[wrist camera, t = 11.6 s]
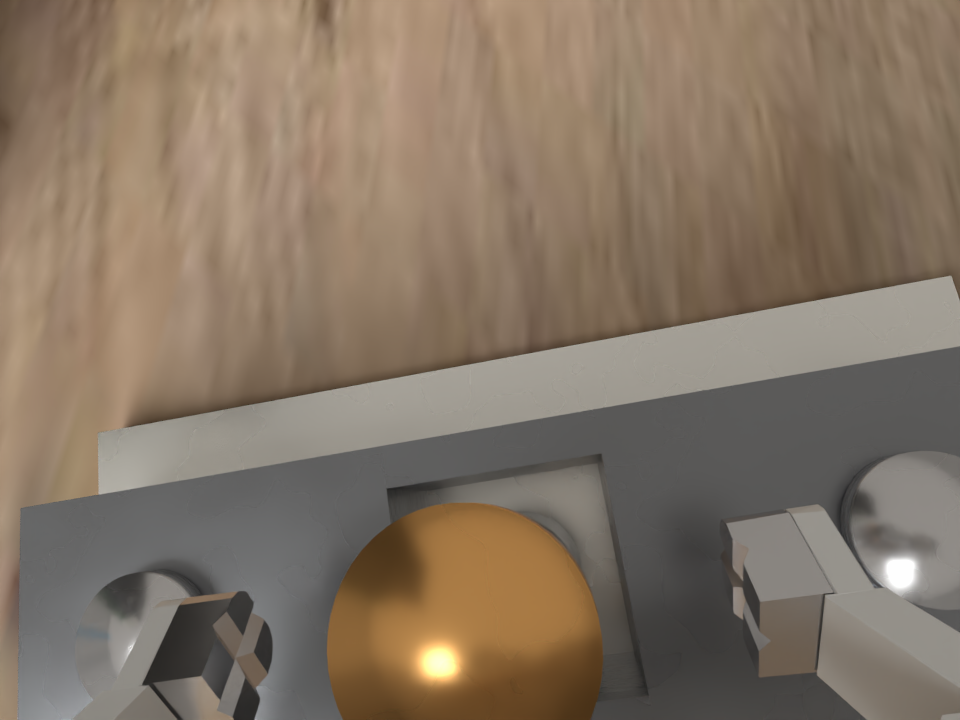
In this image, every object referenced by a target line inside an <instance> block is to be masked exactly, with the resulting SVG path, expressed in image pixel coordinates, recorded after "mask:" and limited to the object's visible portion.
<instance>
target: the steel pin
mask: <svg viewBox="0 0 960 720" xmlns="http://www.w3.org/2000/svg"><path fill="white" fill-rule="evenodd" d="M327 660H328V672H329V677H330V682H331V687H332V692H333V695H334V698H335V701H336V704H337V707H338V710H339V712H340V714H341V717H342V719H343V720H590V719H591V717H592V714H593V711H594V708H595V705H596V702H597V699H598V695H599V690H600V685H601V680H602V668H603V644H602V634H601V628H600V623H599V617H598V612H597V607H596V604H595V601H594V597H593V594H592V591H591V589H590V586H589V584H588V582H587V580H586V577H585V575H584V573H583V572H582V567H581V561H580V556H579V553H578V550H577V548H576V546H575V543H574V542H573V540H572V538H571V537H570V535H569V534H568V533H567V532H566V530H565V529H564V528H563V527H561V526H560V525H559V524H558V523H557V522H555V521H554V520H552V519H551V518H549V517H547V516H544V515H542V514H539V513H535V512H530V511H513V510H511V509H508V508H504V507H500V506H497V505H492V504H484V503H446V504H440V505H434V506H430V507H427V508H424V509H420V510H417V511H415V512H413V513H410V514H408V515H406V516H404V517H402V518H400V519H399V520H397V521H395V522H394V523H392V524H390V525H389V526H387V527H386V528H385V529H384V530H382V531H381V532H380V533H379V534H377V535H376V536H375V537H374V538H373V539H372V540H371V541H370V542H369V543H368V544H367V545H366V546H365V547H364V548H363V549H362V551H361V552H360V553H359V555H358V556H357V557H356V559H355V560H354V561H353V563H352V564H351V566H350V568H349V570H348V571H347V573H346V575H345V577H344V578H343V580H342V583H341V585H340V587H339V590H338V592H337V595H336V597H335V601H334V604H333V608H332V612H331V615H330V622H329V628H328V637H327Z"/></svg>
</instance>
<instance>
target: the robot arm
mask: <svg viewBox="0 0 960 720" xmlns="http://www.w3.org/2000/svg"><path fill="white" fill-rule="evenodd" d="M719 526H720V538H721V540H722V543H723V545H724V548H725V549H724V551H723V552H722V553H721V554H720V560H721V571H722V576H723V582H724V586H725V590H726V593H727V596H728V599H729V602H730V605H731V607H732V610H733V613H734V614H736V615H737V616H738V617H740V618H741V619H742V620H743V639H744V641H745V644H746V646H747V649H748V651H749V654H750V656H751V659H752V662H753V664H754V667H755V669H756V672H757V674H758V677H770V676H781V675H792V674H803V673H813V672H817V676H818V677H819V678H821V679H822V680H823V681H824V682H825V683H826V684H827V685H828V686H830V687H831V688H832V689H833V690H834V691H835V692H836V693H837V694H839V695H840V696H841V697H842V698H843V699H844V700H845V701H846V702H848V703H849V704H850V705H851V706H852V707H853V708H854V709H855V710H856V711H858V712H859V713H860V714H861V715H862V716H863V717H864V718H865V719H867V720H960V632H958V631H956V630H955V629H953V628H951V627H950V626H948V625H946V624H945V623H943V622H941V621H940V620H938V619H937V618H935V617H933V616H932V615H930V614H928V613H927V612H925V611H923V610H922V609H920V608H918V607H917V606H915V605H913V604H912V603H910V602H908V601H907V600H905V599H903V598H902V597H900V596H899V595H897V594H895V593H894V592H892V591H890V590H889V589H887V588H874V587H873V585H872V583H871V582H870V580H869V579H868V577H867V576H866V574H865V572H864V571H863V569H862V568H861V566H860V564H859V563H858V561H857V560H856V558H855V557H854V555H853V553H852V552H851V550H850V549H849V547H848V546H847V544H846V542H845V541H844V539H843V538H842V536H841V534H840V533H839V531H838V530H837V528H836V527H835V525H834V523H833V522H832V520H831V519H830V517H829V515H828V514H827V512H826V511H825V509H824V508H823V507H821V506H820V505H818V504H816V505H810V506H803V507H796V508H790V509H785V510H783V509H781V510H774V511H768V512H762V513H756V514H749V515H743V516H737V517H731V518H724V519H721V521H720V524H719ZM253 606H254V602H253V600H252V599H251V598H250V596H249V595H248V593H247V592H246V591H237V592H229V593H221V594H212V595H204V596H196V597H187V598H182V599H174V600H166V601H161V602H159V603H158V604H157V605H156V606H155V607H154V608H153V609H152V610H151V612H150V614H149V616H148V618H147V620H146V622H145V624H144V626H143V628H142V630H141V632H140V634H139V636H138V638H137V640H136V642H135V644H134V646H133V648H132V650H131V652H130V654H129V656H128V658H127V659H126V661H125V663H124V665H123V667H122V669H121V671H120V673H119V675H118V677H117V679H116V681H115V683H114V685H113V687H112V689H111V690H107V691H102V692H101V693H100V694H99V695H98V696H97V697H96V698H95V699H94V700H93V701H92V702H91V703H89V704H88V705H87V706H86V707H85V708H84V709H83V710H82V711H81V712H80V713H79V714H77V715H76V716H75V717H74V718H73V719H72V720H255V716H256V713H257V710H258V706H259V703H260V697H259V695H258V692H257V690H256V687H257V686H258V685H259V684H260V683H261V682H262V680H263V679H264V678H265V677H266V676H267V675H268V673H269V669H270V665H271V662H272V657H273V639H272V635H271V631H270V628H269V626H268V625H267V623H266V621H265V619H263V618H261V617H259V616H257V615H255V614H254V613H252V609H253Z"/></svg>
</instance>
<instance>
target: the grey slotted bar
mask: <svg viewBox="0 0 960 720" xmlns="http://www.w3.org/2000/svg"><path fill="white" fill-rule="evenodd" d="M98 471H99V495H94V496H88V497H82V498H77V499H71V500H65V501H59V502H53V503H48V504H42V505H36V506H30V507H24V508H21V517H20V586H19V654H18V720H72V719H73V718H74V717H75V716H76V715H77V714H79V713H80V712H81V711H82V710H83V709H84V708H85V707H86V706H87V705H88V704H89V703H91V702H92V701H93V700H94V699H95V698H96V697H97V696H98V695H99V694H100V693H101V692H102V691H107V690H111V689H112V687H113V685H114V683H115V681H116V679H117V677H118V675H119V673H120V671H121V669H122V667H123V665H124V663H125V661H126V659H127V658H128V656H129V654H130V652H131V650H132V648H133V646H134V644H135V642H136V640H137V638H138V636H139V634H140V632H141V630H142V628H143V626H144V624H145V622H146V620H147V618H148V616H149V614H150V612H151V610H152V609H153V608H154V607H155V606H156V605H157V604H158V603H159V602H161V601H166V600H174V599H182V598H187V597H196V596H204V595H212V594H221V593H229V592H237V591H246V592H247V593H248V595H249V596H250V598H251V599H252V600H253V602H254V606H253V609H252V613H254V614H255V615H257V616H259V617H261V618H263V619H265V621H266V623H267V625H268V626H269V628H270V631H271V635H272V639H273V657H272V662H271V665H270V669H269V673H268V675H267V676H266V677H265V678H264V679H263V680H262V682H261V683H260V684H259V685H258V686H257V687H256V690H257V692H258V695H259V697H260V703H259V706H258V710H257V713H256V716H255V720H343V719H342V717H341V714H340V712H339V710H338V707H337V704H336V701H335V698H334V695H333V692H332V687H331V682H330V677H329V672H328V660H327V637H328V628H329V622H330V615H331V612H332V608H333V604H334V601H335V597H336V595H337V592H338V590H339V587H340V585H341V583H342V580H343V578H344V577H345V575H346V573H347V571H348V570H349V568H350V566H351V564H352V563H353V561H354V560H355V559H356V557H357V556H358V555H359V553H360V552H361V551H362V549H363V548H364V547H365V546H366V545H367V544H368V543H369V542H370V541H371V540H372V539H373V538H374V537H375V536H376V535H377V534H379V533H380V532H381V531H382V530H384V529H385V528H386V527H387V526H389V525H390V524H392V523H394V522H395V521H397V520H399V519H400V518H402V517H404V516H406V515H408V514H410V513H413V512H415V511H417V510H420V509H424V508H427V507H430V506H434V505H440V504H446V503H484V504H492V505H497V506H500V507H504V508H508V509H511V510H513V511H530V512H535V513H539V514H542V515H544V516H547V517H549V518H551V519H552V520H554V521H555V522H557V523H558V524H559V525H560V526H561V527H563V528H564V529H565V530H566V532H567V533H568V534H569V535H570V537H571V538H572V540H573V542H574V543H575V546H576V548H577V550H578V553H579V556H580V561H581V567H582V572H583V573H584V575H585V577H586V580H587V582H588V584H589V586H590V589H591V591H592V594H593V597H594V601H595V604H596V607H597V612H598V617H599V623H600V628H601V634H602V644H603V668H602V680H601V685H600V690H599V695H598V699H597V702H596V705H595V708H594V711H593V714H592V717H591V719H590V720H867V719H865V718H864V717H863V716H862V715H861V714H860V713H859V712H858V711H856V710H855V709H854V708H853V707H852V706H851V705H850V704H849V703H848V702H846V701H845V700H844V699H843V698H842V697H841V696H840V695H839V694H837V693H836V692H835V691H834V690H833V689H832V688H831V687H830V686H828V685H827V684H826V683H825V682H824V681H823V680H822V679H821V678H819V677H818V676H817V672H813V673H803V674H792V675H781V676H770V677H758V674H757V672H756V669H755V667H754V664H753V662H752V659H751V656H750V654H749V651H748V649H747V646H746V644H745V641H744V639H743V620H742V619H741V618H740V617H738V616H737V615H736V614H734V613H733V610H732V607H731V605H730V602H729V599H728V596H727V593H726V590H725V586H724V582H723V576H722V571H721V560H720V554H721V553H722V552H723V551H724V549H725V548H724V545H723V543H722V540H721V538H720V526H719V524H720V521H721V519H724V518H731V517H737V516H743V515H749V514H756V513H762V512H768V511H774V510H781V509H783V510H785V509H790V508H796V507H803V506H810V505H816V504H818V505H820V506H821V507H823V508H824V509H825V511H826V512H827V514H828V515H829V517H830V519H831V520H832V522H833V523H834V525H835V527H836V528H837V530H838V531H839V533H840V534H841V536H842V538H843V539H844V541H845V542H846V544H847V546H848V547H849V549H850V550H851V552H852V553H853V555H854V557H855V558H856V560H857V561H858V563H859V564H860V566H861V568H862V569H863V571H864V572H865V574H866V576H867V577H868V579H869V580H870V582H871V583H872V585H873V587H874V588H887V589H889V590H890V591H892V592H894V593H895V594H897V595H899V596H900V597H902V598H903V599H905V600H907V601H908V602H910V603H912V604H913V605H915V606H917V607H918V608H920V609H922V610H923V611H925V612H927V613H928V614H930V615H932V616H933V617H935V618H937V619H938V620H940V621H941V622H943V623H945V624H946V625H948V626H950V627H951V628H953V629H955V630H956V631H958V632H960V300H959V297H958V294H957V291H956V288H955V285H954V282H953V279H952V277H951V276H946V277H941V278H935V279H930V280H925V281H919V282H914V283H908V284H903V285H897V286H892V287H887V288H881V289H876V290H870V291H865V292H859V293H854V294H849V295H843V296H838V297H832V298H827V299H822V300H816V301H811V302H805V303H800V304H794V305H789V306H784V307H778V308H773V309H767V310H762V311H756V312H751V313H746V314H740V315H735V316H729V317H724V318H719V319H713V320H708V321H702V322H697V323H691V324H686V325H681V326H675V327H670V328H664V329H659V330H653V331H648V332H643V333H637V334H632V335H626V336H621V337H616V338H610V339H605V340H599V341H594V342H588V343H583V344H578V345H572V346H567V347H561V348H556V349H550V350H545V351H540V352H534V353H529V354H523V355H518V356H513V357H507V358H502V359H496V360H491V361H485V362H480V363H475V364H469V365H464V366H458V367H453V368H447V369H442V370H437V371H431V372H426V373H420V374H415V375H410V376H404V377H399V378H393V379H388V380H382V381H377V382H372V383H366V384H361V385H355V386H350V387H344V388H339V389H334V390H328V391H323V392H317V393H312V394H307V395H301V396H296V397H290V398H285V399H279V400H274V401H269V402H263V403H258V404H252V405H247V406H241V407H236V408H231V409H225V410H220V411H214V412H209V413H204V414H198V415H193V416H187V417H182V418H176V419H171V420H166V421H160V422H155V423H149V424H144V425H138V426H133V427H128V428H122V429H117V430H111V431H106V432H101V433H98Z"/></svg>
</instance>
